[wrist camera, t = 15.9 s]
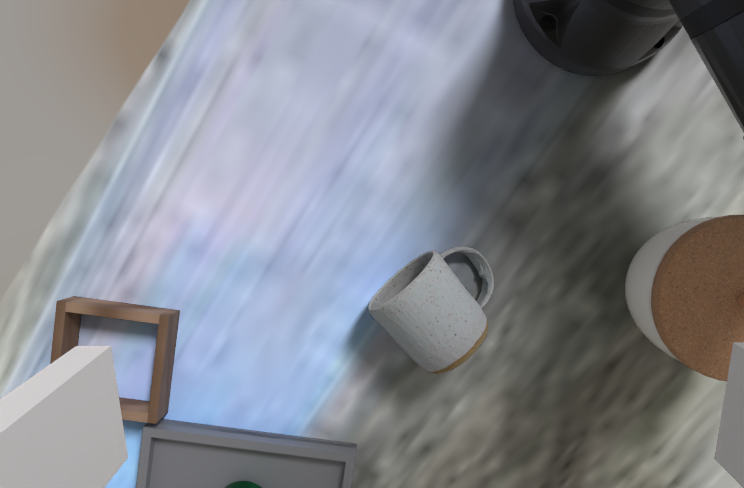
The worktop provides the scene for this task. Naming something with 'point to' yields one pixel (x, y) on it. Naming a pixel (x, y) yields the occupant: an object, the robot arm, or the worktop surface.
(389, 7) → the worktop surface
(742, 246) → the lidded bowl
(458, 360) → the ceramic mug
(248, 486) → the soda can
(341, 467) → the grey tray
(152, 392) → the walnut collar
